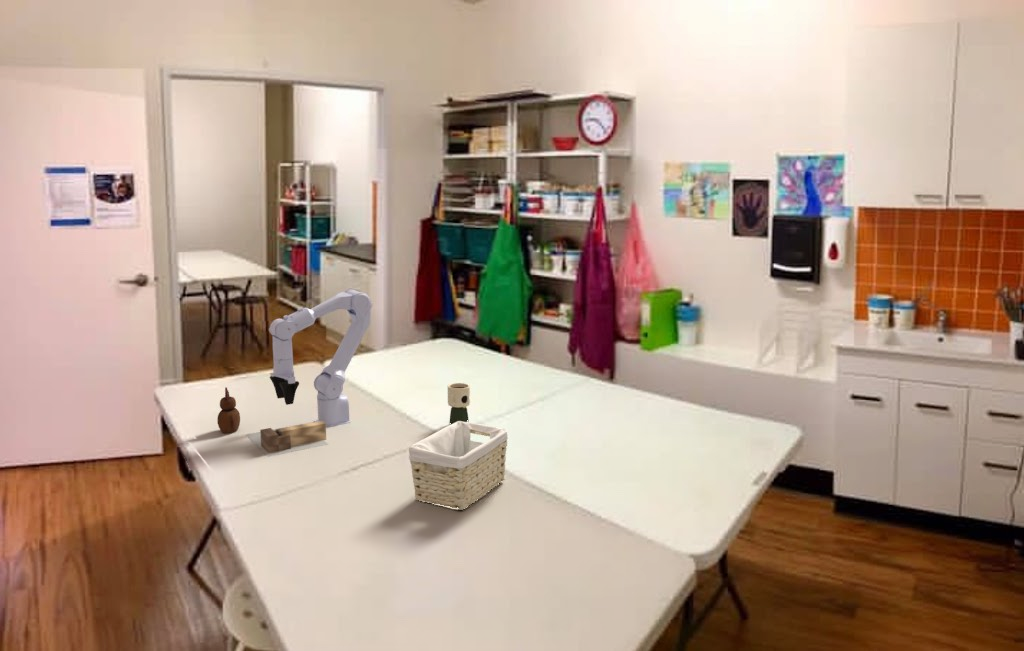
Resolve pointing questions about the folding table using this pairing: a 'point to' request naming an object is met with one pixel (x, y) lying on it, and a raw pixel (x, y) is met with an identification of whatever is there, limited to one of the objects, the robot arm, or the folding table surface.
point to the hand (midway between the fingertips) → (285, 400)
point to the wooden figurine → (228, 414)
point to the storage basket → (458, 464)
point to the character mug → (458, 401)
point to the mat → (257, 440)
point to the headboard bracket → (274, 441)
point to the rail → (304, 432)
